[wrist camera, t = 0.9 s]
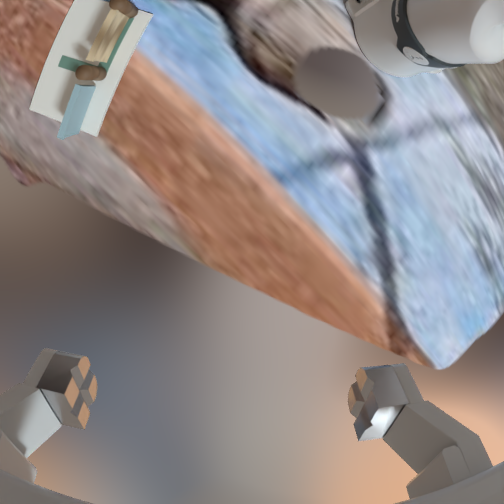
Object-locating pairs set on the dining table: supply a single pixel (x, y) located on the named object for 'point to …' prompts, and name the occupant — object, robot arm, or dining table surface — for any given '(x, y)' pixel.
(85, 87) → the light blue rectangular panel
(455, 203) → the dining table surface
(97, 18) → the card
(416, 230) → the dining table surface
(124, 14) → the pine fence section
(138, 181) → the dining table surface
